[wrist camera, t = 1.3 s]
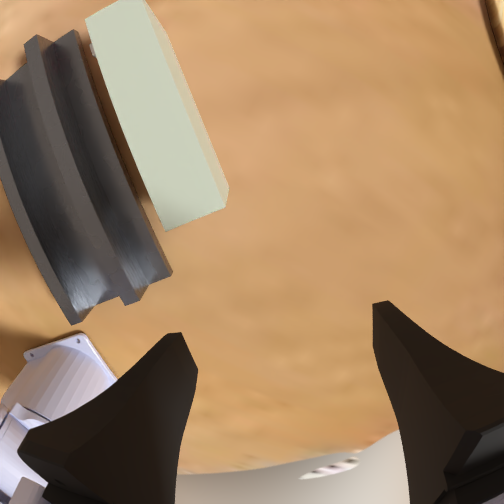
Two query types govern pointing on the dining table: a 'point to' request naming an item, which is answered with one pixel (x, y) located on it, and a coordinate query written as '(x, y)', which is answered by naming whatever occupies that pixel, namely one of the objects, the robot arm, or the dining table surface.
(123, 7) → the sage green block
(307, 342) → the dining table surface
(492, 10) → the wooden plate with food
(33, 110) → the rail
